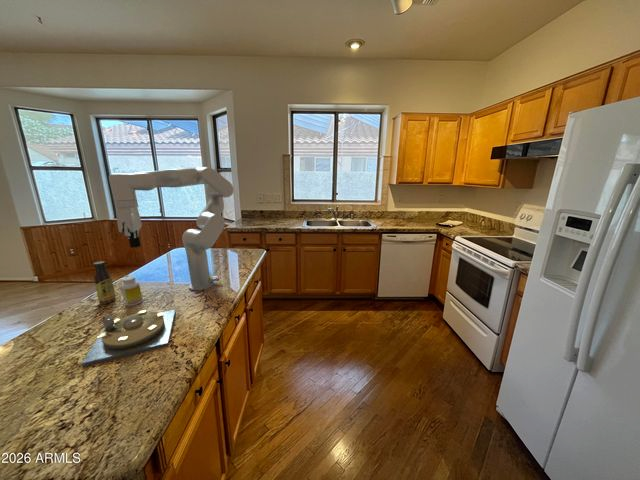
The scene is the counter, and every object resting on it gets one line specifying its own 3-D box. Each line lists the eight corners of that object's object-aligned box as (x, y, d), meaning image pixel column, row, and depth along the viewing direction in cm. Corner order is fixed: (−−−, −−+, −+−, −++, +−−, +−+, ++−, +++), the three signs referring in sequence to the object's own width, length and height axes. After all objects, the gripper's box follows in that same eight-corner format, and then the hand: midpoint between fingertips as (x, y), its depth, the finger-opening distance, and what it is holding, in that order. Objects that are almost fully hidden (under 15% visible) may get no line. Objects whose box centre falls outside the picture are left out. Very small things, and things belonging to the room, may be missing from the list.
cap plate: (175, 312, 110) (175, 309, 110) (168, 346, 89) (167, 342, 89) (107, 326, 101) (106, 322, 101) (80, 367, 80) (79, 363, 79)
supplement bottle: (146, 301, 121) (140, 276, 117) (131, 307, 115) (125, 282, 111) (137, 298, 123) (132, 274, 120) (122, 304, 118) (116, 279, 114)
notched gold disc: (118, 321, 101) (114, 306, 99) (170, 314, 106) (167, 300, 104) (91, 353, 83) (85, 336, 82) (155, 342, 88) (151, 326, 87)
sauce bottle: (106, 305, 117) (96, 265, 112) (96, 304, 118) (85, 264, 113) (120, 298, 123) (110, 260, 118) (109, 297, 124) (100, 260, 119)
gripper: (125, 202, 109) (133, 242, 114) (105, 207, 95) (116, 252, 100) (144, 201, 111) (152, 241, 116) (128, 206, 97) (137, 251, 102)
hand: (135, 246), depth 108 cm, fingers closed
